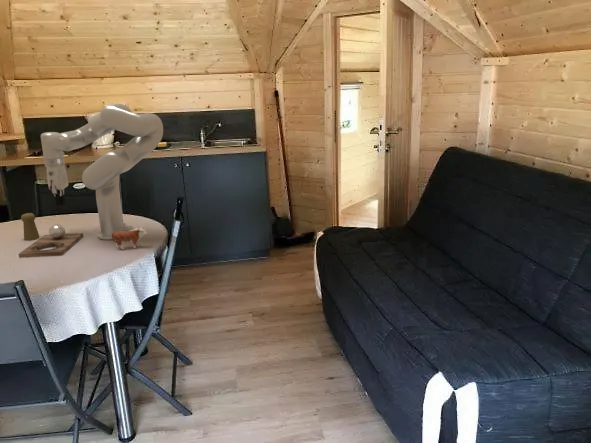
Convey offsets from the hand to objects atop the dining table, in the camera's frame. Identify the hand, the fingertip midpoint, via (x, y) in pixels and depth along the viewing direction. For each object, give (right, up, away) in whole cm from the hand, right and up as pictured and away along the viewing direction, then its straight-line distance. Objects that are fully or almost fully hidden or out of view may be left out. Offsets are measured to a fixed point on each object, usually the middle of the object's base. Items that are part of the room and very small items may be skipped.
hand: (60, 204), depth 210 cm
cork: (-13, -15, +1) cm, 20 cm away
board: (+2, -17, -11) cm, 20 cm away
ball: (+1, -11, -6) cm, 13 cm away
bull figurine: (+35, -18, -15) cm, 43 cm away
